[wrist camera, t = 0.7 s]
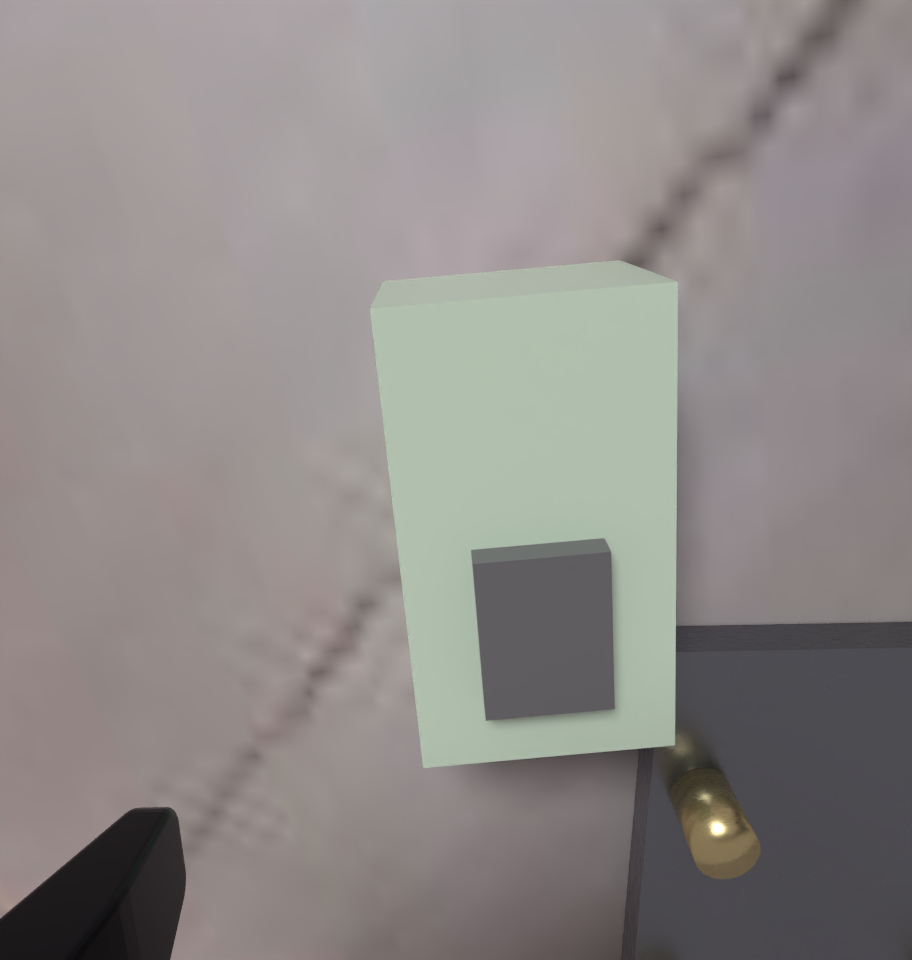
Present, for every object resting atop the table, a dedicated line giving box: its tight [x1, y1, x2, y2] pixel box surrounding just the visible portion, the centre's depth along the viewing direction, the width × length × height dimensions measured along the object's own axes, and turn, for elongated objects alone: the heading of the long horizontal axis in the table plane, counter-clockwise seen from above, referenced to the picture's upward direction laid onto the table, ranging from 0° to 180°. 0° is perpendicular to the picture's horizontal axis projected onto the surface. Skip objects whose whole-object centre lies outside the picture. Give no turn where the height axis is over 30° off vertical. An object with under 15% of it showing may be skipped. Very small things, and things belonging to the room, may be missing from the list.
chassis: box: [621, 622, 912, 960], centre depth 22 cm, size 11×16×3 cm
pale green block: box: [370, 260, 678, 768], centre depth 17 cm, size 5×9×5 cm, turn 5°
